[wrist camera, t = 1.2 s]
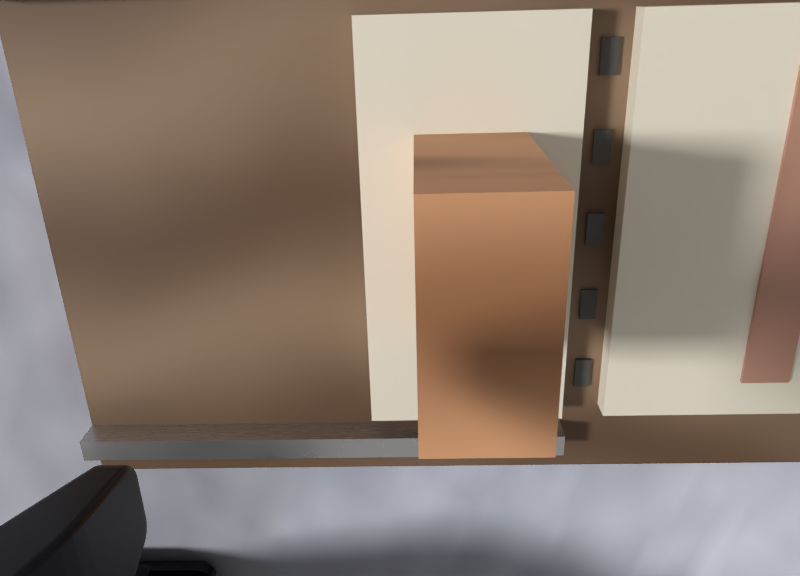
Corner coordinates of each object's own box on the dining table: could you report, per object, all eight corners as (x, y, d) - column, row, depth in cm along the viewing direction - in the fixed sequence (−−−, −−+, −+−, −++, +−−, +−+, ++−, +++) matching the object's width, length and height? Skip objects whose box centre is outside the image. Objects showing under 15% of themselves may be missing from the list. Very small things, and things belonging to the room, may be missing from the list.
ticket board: (848, 430, 21) (897, 479, 19) (122, 438, 21) (90, 487, 19) (990, -103, 15) (1083, -118, 13) (11, -72, 16) (-50, -82, 14)
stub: (557, 405, 19) (611, 561, 14) (373, 408, 19) (357, 563, 14) (585, 8, 15) (677, 14, 10) (353, 14, 15) (322, 25, 10)
